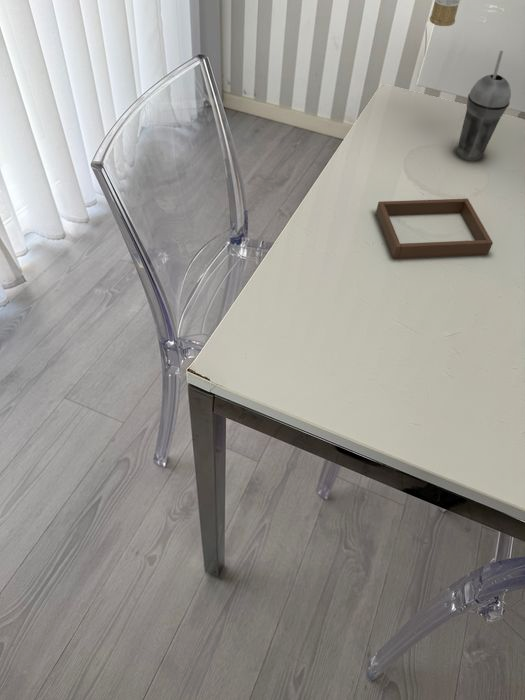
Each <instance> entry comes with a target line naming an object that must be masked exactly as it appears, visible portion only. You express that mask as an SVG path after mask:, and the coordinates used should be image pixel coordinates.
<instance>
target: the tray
mask: <svg viewBox="0 0 525 700" xmlns="http://www.w3.org/2000/svg"><path fill="white" fill-rule="evenodd" d="M446 214H447V215H448V214H450V215H451V214H460V215H461V217H462V219H463V221H464V222H465V224H466V226H467V228H468V230H469V231H470V233H471V235H472V237H473V239H474V240H455V241H453V240H452V241H431V242H429V241H428V242H427V241H426V242H407V243H406V242H405V243H402V242H401V241H400V240H399V237H398V235H397V233H396V230H395V228H394V225H393V222H392V220H391V218H390V217H393V216H395V217H396V216H419V215H422V216H423V215H446ZM375 215H376V219H377V221H378V224H379V226H380V228H381V231H382V233H383V236H384V239H385V241H386V244H387V246H388V249H389V251H390V255H391V257H392V259H393V260H397V259H400V260H401V259H420V258H421V259H422V258H442V257H443V258H445V257H462V256H463V257H465V256H466V257H467V256H486V255H489V252H490V250H491V248H492V246H493V244H494V242H493V240H492V239H491V237H490V235H489V233H488V231H487V230H486V228H485V226H484V224H483V223H482V221H481V219H480V217H479V216H478V214H477V212H476V210H475V209H474V207H473V205H472V203H471V201H470V200H469V198H447V199H446V198H445V199H443V198H442V199H416V200H415V199H414V200H386V201H385V200H383V201H378V203H377V207H376V209H375Z"/></svg>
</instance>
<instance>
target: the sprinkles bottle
mask: <svg viewBox="0 0 525 700" xmlns="http://www.w3.org/2000/svg"><path fill="white" fill-rule="evenodd" d="M460 3H461V0H434V3H433V7H432V11H431V15H430V17H429V21H430V23H431V24H433V25H435V26H438V27H451V26H453V25H454V24H455V22H456V16H457V12H458V9H459V5H460Z"/></svg>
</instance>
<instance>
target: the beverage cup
mask: <svg viewBox="0 0 525 700" xmlns="http://www.w3.org/2000/svg"><path fill="white" fill-rule="evenodd" d="M503 53H504V50H499V53H498V57H497V60H496V64H495V68H494V71H493V74H486V75H485V76H483V77H481V78H480V79H478V80H477V81H476V82H475V83H474V85H473V87H472V88H471V89H470V91H469V93H468V95H467V102H466V103H467V104H466V111H465V115H464V119H463V124H462V128H461V132H460V136H459V141H458V143H457V144H458V145H457V149H456V150H457V151H456V153H457V155H458V156H459V157H460V158H461V159H463V160H465V161H469V162H472V161H473V162H475V161H479V160H480V159H481V158H482V156H483V155H484V153H485V151H486V149H487V147H488V144H489V143H490V141H491V138H492V136H493V134H494V132H495V130H496V128H497V126H498V124H499V122H500V120H501V118H502V116H503V115H504V114H505V111H506V110H507V108H508V107H509V106H510V100H511V97H512V92H511V86H510V83H509V82H508V80H507V79H506V78H505V77H503V76H502V75H500V74H498V71H499V68H500V64H501V60H502V58H503V57H502V56H503Z"/></svg>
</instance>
